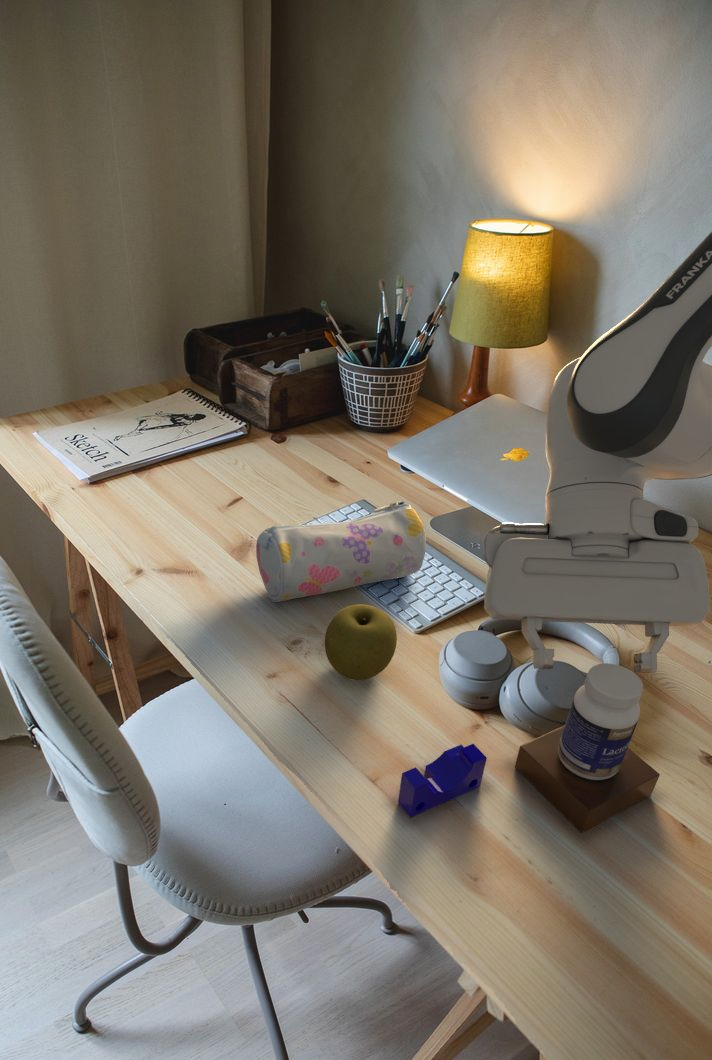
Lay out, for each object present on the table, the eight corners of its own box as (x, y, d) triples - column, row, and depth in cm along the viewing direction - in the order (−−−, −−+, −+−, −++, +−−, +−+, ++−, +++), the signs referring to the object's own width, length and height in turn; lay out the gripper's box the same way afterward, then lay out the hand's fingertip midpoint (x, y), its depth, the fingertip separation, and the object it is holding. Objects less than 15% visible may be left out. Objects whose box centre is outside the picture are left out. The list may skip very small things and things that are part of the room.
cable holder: (457, 762, 80) (463, 733, 78) (480, 786, 78) (486, 757, 76) (389, 791, 77) (392, 761, 75) (410, 817, 75) (414, 788, 72)
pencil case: (396, 549, 111) (403, 486, 105) (429, 584, 105) (438, 519, 99) (250, 582, 104) (249, 517, 98) (276, 621, 98) (276, 554, 92)
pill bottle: (602, 793, 74) (632, 712, 68) (545, 760, 77) (569, 680, 71) (630, 758, 77) (660, 679, 71) (574, 728, 80) (599, 649, 74)
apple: (407, 668, 91) (414, 617, 87) (359, 703, 87) (364, 651, 82) (356, 637, 96) (360, 587, 91) (308, 669, 91) (310, 617, 87)
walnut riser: (581, 735, 84) (588, 714, 82) (651, 795, 78) (660, 774, 76) (514, 767, 80) (519, 745, 78) (581, 833, 74) (589, 811, 72)
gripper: (491, 513, 76) (489, 663, 74) (716, 521, 75) (719, 672, 73) (477, 529, 82) (475, 668, 80) (685, 537, 81) (687, 677, 80)
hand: (594, 670), depth 77 cm, fingers open, 8 cm apart
